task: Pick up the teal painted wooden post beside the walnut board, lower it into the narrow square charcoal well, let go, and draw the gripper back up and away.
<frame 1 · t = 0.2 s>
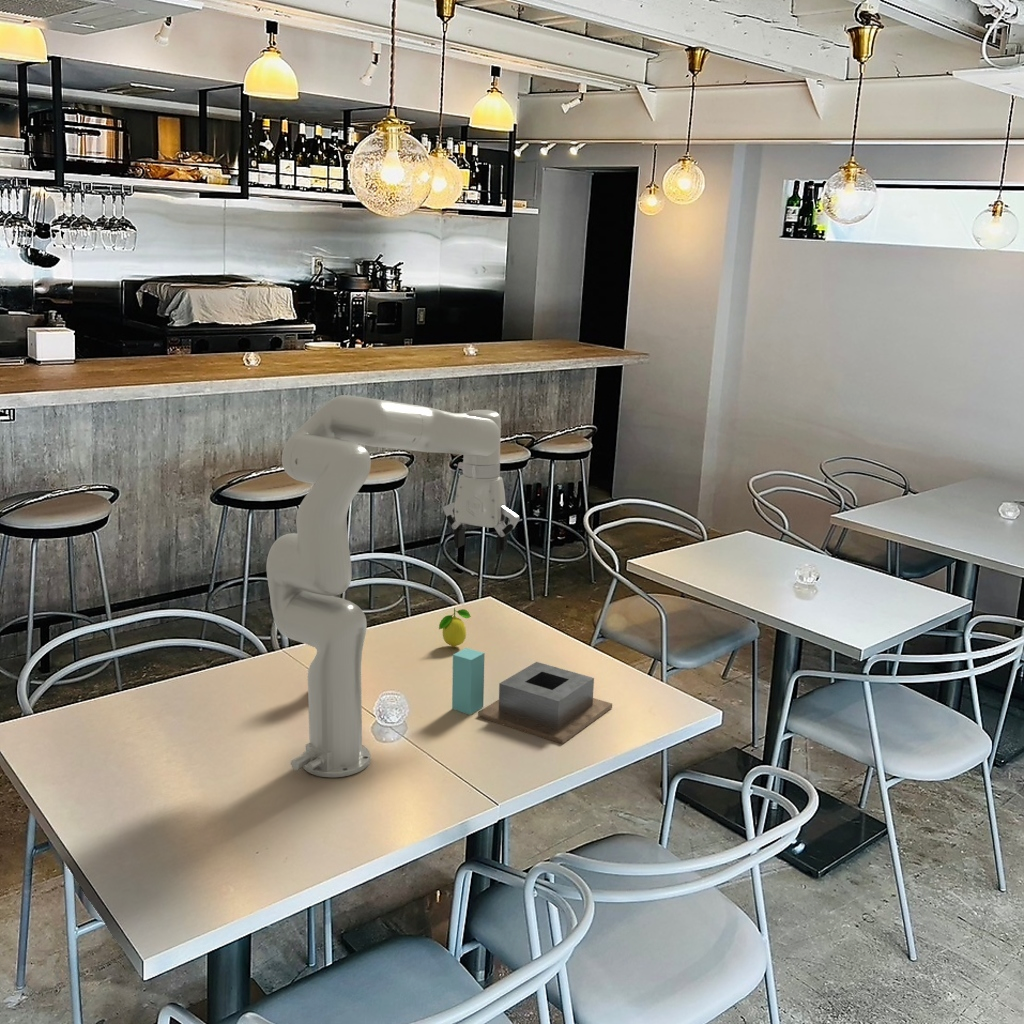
hand: (480, 549, 223), 30 cm above the table, tool pointing down, fingers open, 9 cm apart
well: (545, 712, 218), on the table
lemon: (454, 647, 251), on the table
teal post: (467, 708, 219), on the table
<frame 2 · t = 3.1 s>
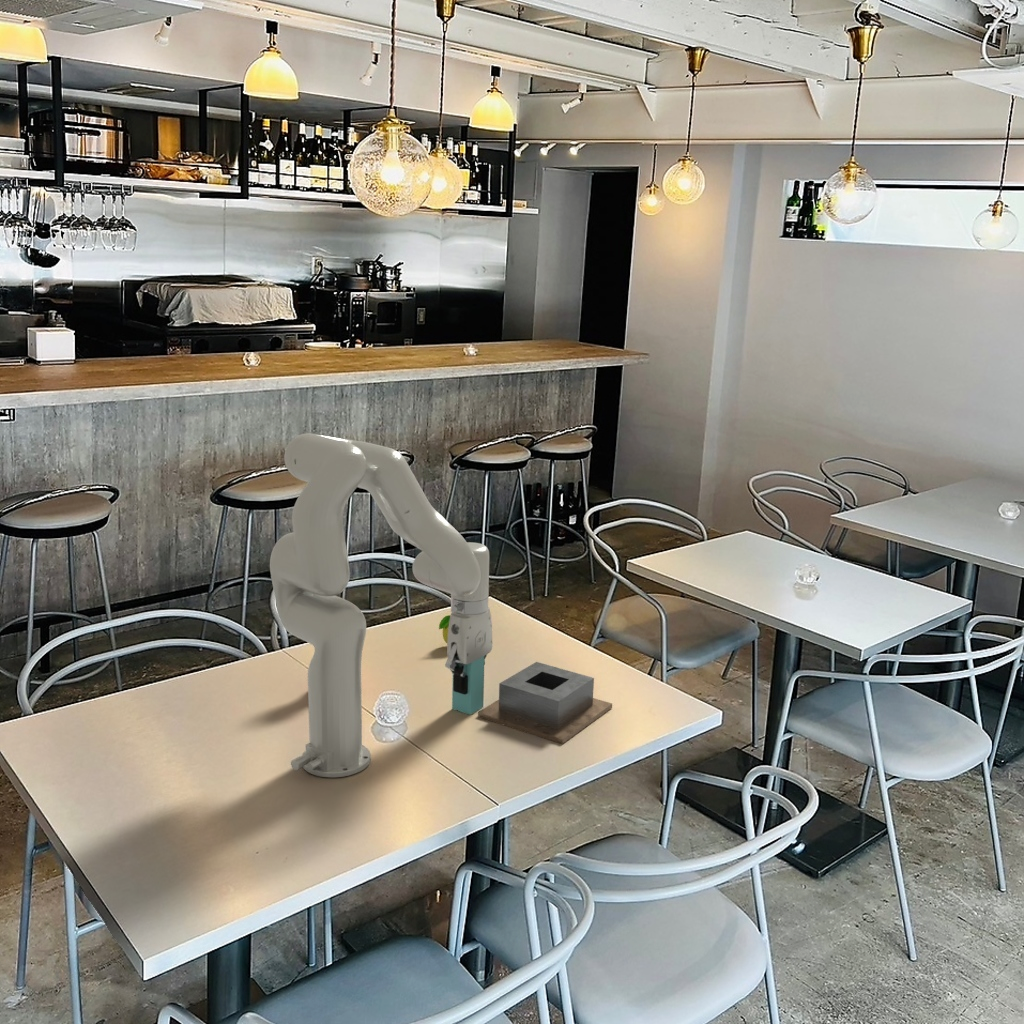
hand: (468, 687, 218), 5 cm above the table, tool pointing down, fingers closed on teal post, 4 cm apart
teal post: (467, 708, 219), on the table, touching gripper
everything else where it was.
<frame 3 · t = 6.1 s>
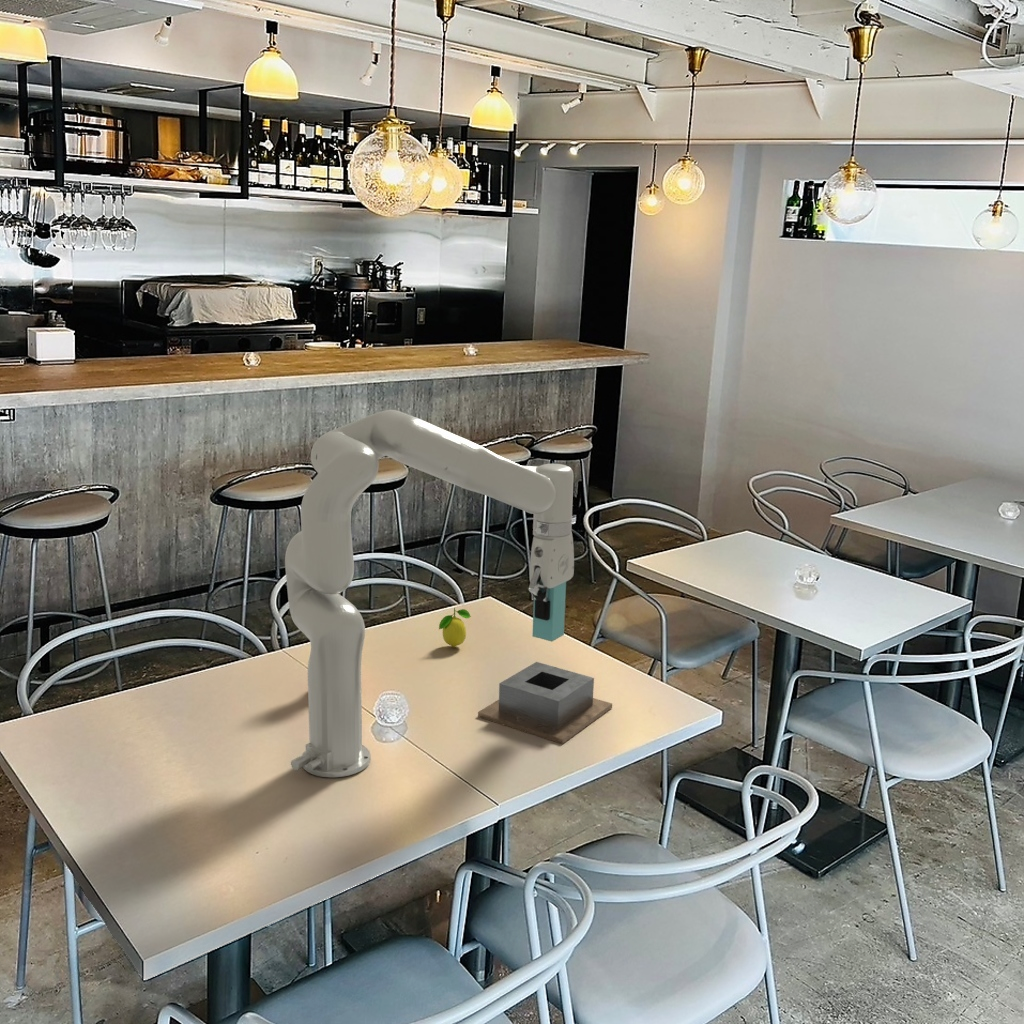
hand: (549, 614, 212), 21 cm above the table, tool pointing down, fingers closed on teal post, 4 cm apart
teal post: (548, 635, 213), point 17 cm above the table, touching gripper
everything else where it was.
when the fingers open (8 cm above the table, at t = 9.0 s): teal post drops 2 cm, resting on well.
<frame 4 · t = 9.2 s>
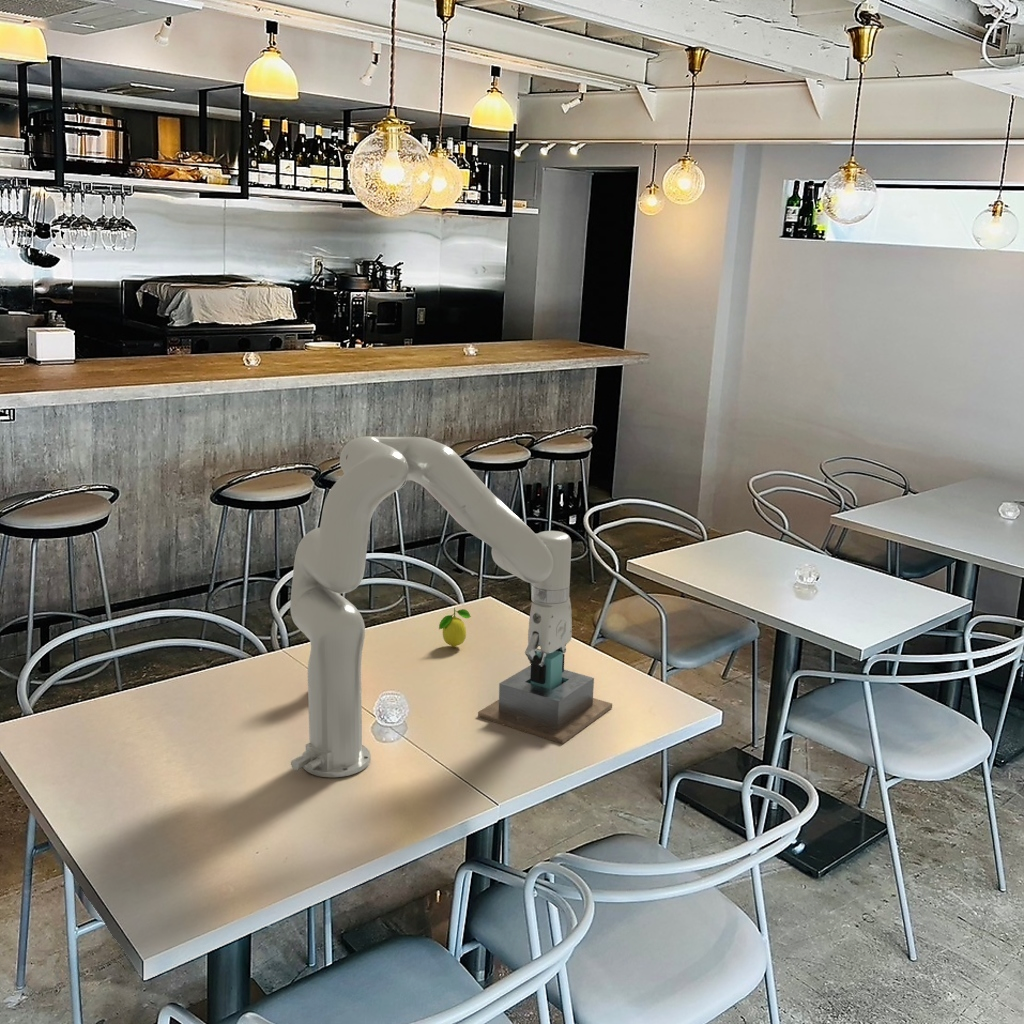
hand: (547, 675, 216), 8 cm above the table, tool pointing down, fingers open, 6 cm apart
teal post: (545, 707, 217), point 1 cm above the table, touching well
everything else where it was.
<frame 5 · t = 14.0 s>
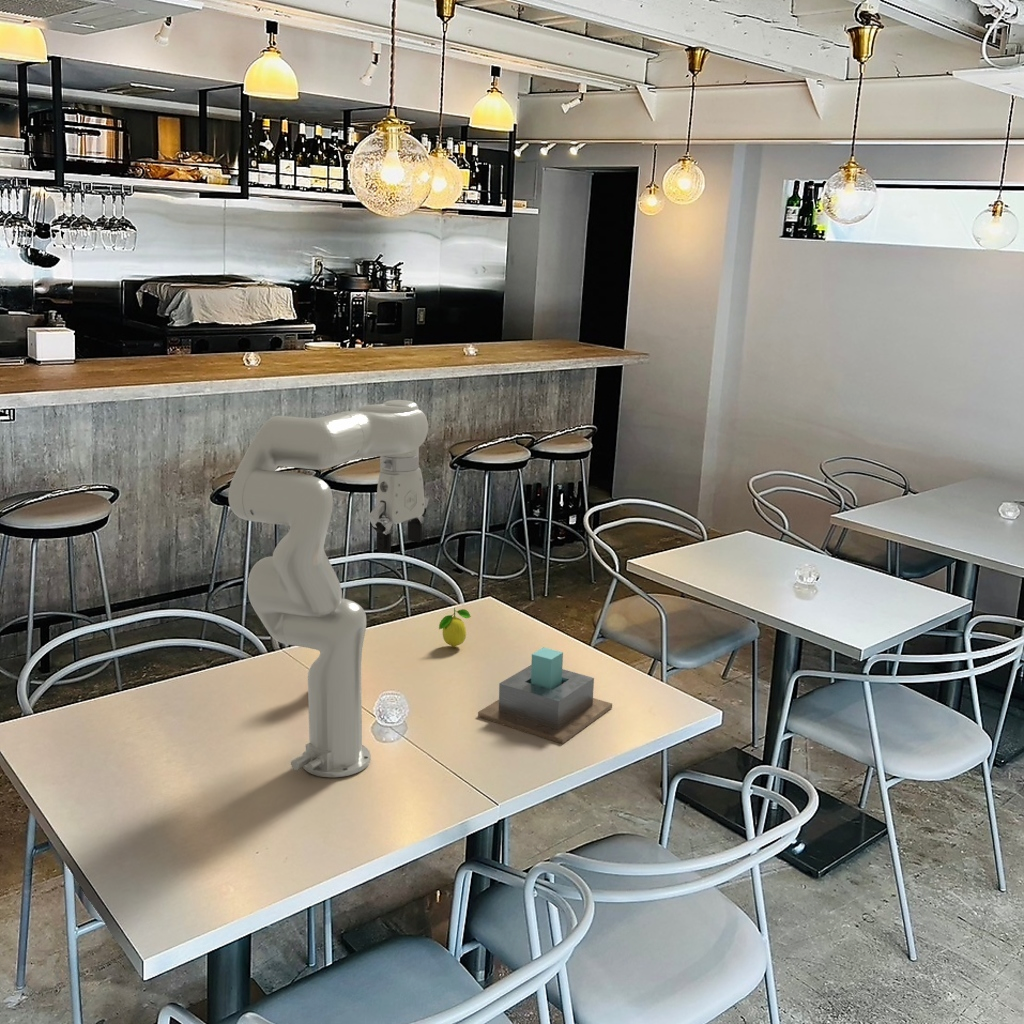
hand: (399, 546, 214), 33 cm above the table, tool pointing down, fingers open, 9 cm apart
nothing on the table moved.
at the end: teal post 0.1 cm off-centre on the well, point 1.0 cm above the well's base; teal post tilted 0°; the gripper is holding nothing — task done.
